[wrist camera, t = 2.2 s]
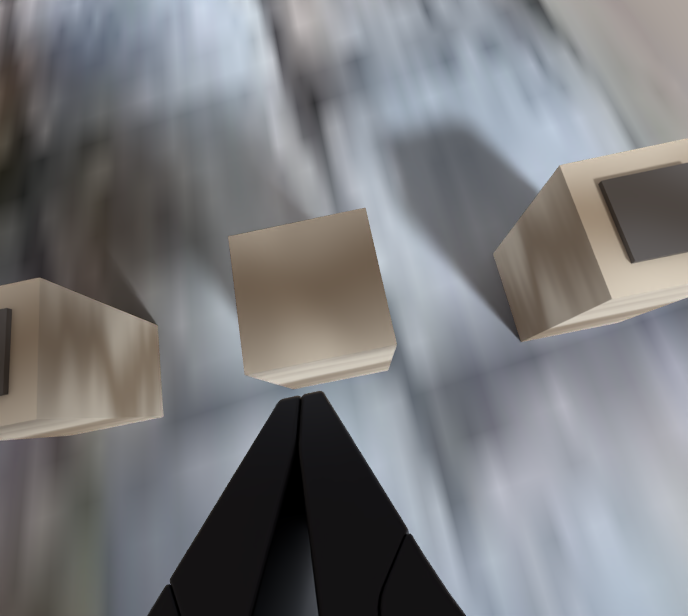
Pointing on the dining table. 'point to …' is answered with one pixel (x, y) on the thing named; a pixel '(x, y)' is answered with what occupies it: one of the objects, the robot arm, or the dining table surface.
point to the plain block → (311, 301)
